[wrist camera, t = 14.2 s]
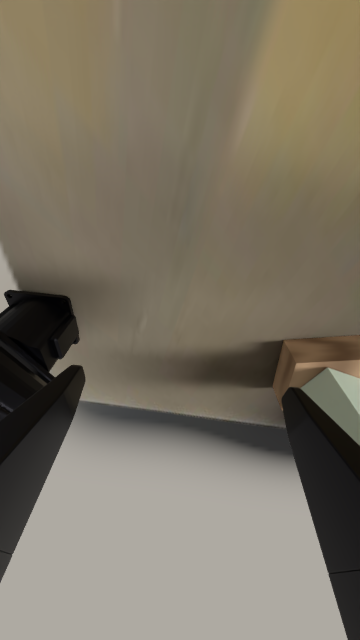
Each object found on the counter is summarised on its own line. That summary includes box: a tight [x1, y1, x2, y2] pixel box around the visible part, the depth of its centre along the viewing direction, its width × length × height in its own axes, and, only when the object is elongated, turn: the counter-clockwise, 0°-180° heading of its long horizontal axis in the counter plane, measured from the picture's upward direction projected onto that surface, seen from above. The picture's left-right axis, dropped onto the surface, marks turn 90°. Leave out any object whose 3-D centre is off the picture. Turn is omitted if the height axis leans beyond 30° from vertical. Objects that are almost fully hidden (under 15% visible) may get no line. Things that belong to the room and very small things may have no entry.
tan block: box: [273, 335, 360, 410], centre depth 26 cm, size 9×9×4 cm
